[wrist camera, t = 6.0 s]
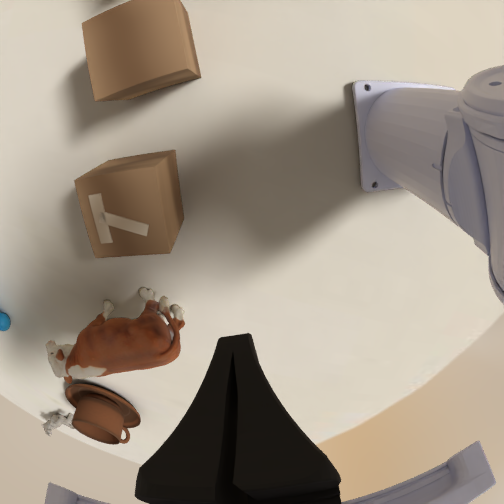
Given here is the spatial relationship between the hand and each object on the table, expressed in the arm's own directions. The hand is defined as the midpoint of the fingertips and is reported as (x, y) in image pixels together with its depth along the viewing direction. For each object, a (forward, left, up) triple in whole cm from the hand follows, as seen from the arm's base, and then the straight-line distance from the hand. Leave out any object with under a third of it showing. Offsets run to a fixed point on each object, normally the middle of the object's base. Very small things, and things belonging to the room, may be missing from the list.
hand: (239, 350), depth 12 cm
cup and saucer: (+25, +22, -11) cm, 35 cm away
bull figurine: (+12, +5, -11) cm, 16 cm away
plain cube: (+3, -14, -11) cm, 18 cm away
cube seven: (+6, -5, -11) cm, 13 cm away
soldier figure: (+43, +30, -11) cm, 54 cm away
